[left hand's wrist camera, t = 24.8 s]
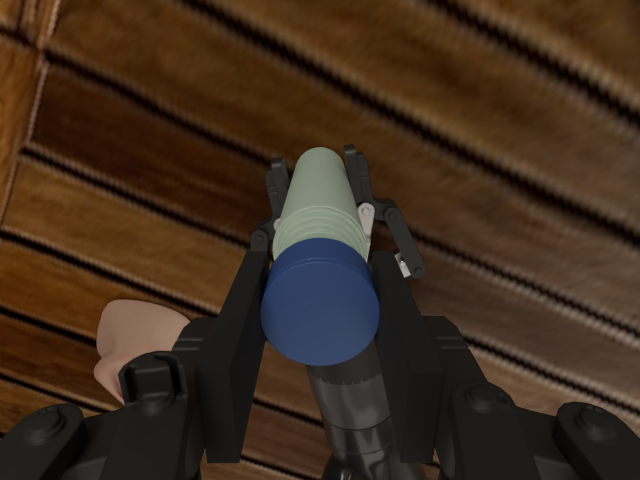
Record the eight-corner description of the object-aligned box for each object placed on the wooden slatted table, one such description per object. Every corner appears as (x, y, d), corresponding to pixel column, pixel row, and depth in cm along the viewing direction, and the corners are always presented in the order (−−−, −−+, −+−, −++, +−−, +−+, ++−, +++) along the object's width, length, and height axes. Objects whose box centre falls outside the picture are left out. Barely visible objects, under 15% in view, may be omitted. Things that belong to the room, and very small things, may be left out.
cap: (246, 272, 15) (234, 302, 13) (335, 216, 14) (337, 238, 12) (306, 345, 16) (304, 384, 14) (391, 297, 15) (402, 330, 13)
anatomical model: (58, 323, 35) (187, 317, 35) (83, 300, 38) (200, 294, 38) (97, 435, 40) (210, 430, 39) (116, 405, 43) (220, 401, 43)
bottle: (302, 141, 33) (272, 232, 12) (351, 154, 34) (400, 264, 13) (290, 189, 35) (245, 342, 14) (337, 202, 35) (361, 367, 14)
